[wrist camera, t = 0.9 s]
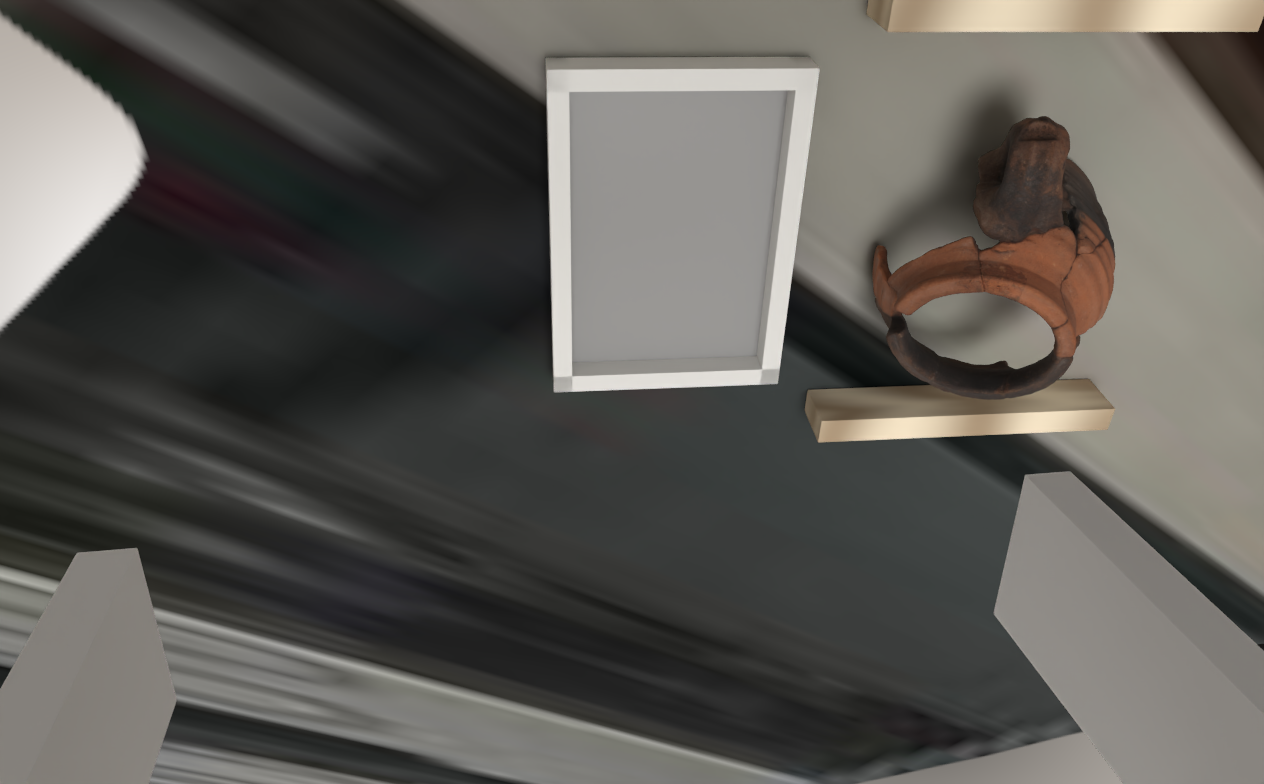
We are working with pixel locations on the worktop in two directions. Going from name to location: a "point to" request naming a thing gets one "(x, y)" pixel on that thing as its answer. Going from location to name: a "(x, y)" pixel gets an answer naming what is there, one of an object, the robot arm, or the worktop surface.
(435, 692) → the worktop surface
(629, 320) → the tray
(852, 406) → the guide channel
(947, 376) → the broken clay vessel
